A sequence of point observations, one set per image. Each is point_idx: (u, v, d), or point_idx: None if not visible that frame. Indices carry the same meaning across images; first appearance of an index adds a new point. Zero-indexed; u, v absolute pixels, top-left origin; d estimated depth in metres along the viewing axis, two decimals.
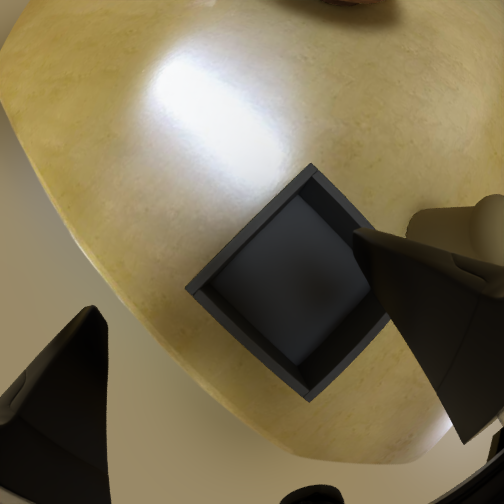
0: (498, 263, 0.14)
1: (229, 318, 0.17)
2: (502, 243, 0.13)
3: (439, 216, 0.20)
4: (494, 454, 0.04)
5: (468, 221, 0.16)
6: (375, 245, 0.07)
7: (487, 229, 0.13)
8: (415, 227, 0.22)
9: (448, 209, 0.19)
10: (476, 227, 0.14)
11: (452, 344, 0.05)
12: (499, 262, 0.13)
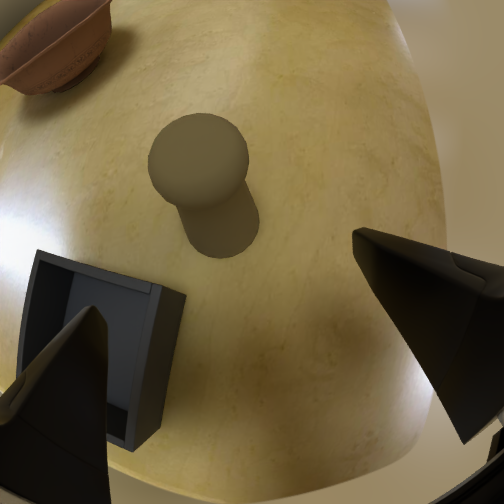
0: (200, 197, 0.13)
1: None
2: (173, 174, 0.12)
3: None
4: (494, 454, 0.04)
5: None
6: (375, 245, 0.07)
7: (152, 178, 0.13)
8: None
9: None
10: (154, 186, 0.14)
11: (452, 344, 0.05)
12: (198, 195, 0.13)
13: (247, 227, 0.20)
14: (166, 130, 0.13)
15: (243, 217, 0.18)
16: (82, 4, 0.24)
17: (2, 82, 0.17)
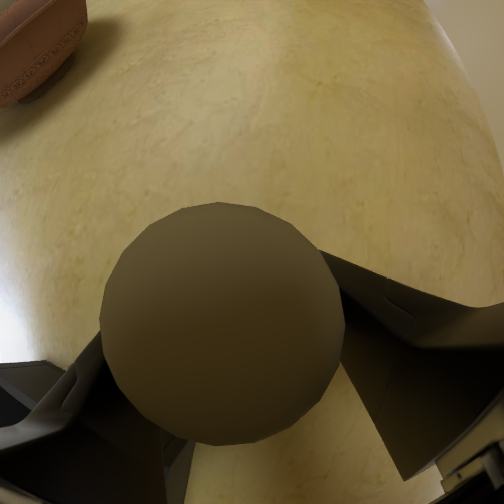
0: (237, 443, 0.05)
1: None
2: (168, 415, 0.04)
3: None
4: None
5: None
6: None
7: None
8: None
9: None
10: None
11: (380, 382, 0.05)
12: (233, 444, 0.05)
13: None
14: (130, 265, 0.05)
15: None
16: None
17: None
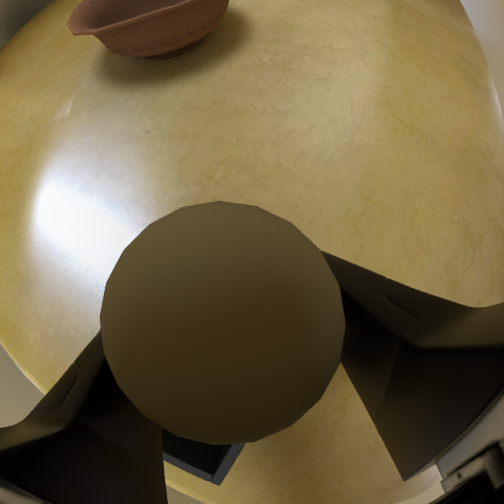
0: None
1: None
2: (167, 414, 0.04)
3: None
4: None
5: None
6: None
7: None
8: None
9: None
10: None
11: (380, 382, 0.05)
12: (234, 443, 0.05)
13: None
14: (131, 263, 0.05)
15: None
16: None
17: (95, 32, 0.17)
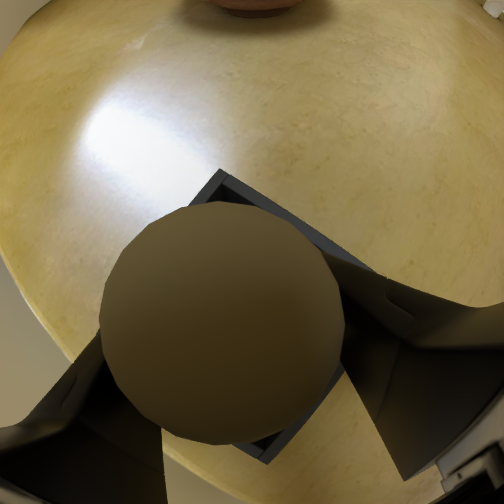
0: (237, 442, 0.05)
1: None
2: (167, 414, 0.04)
3: None
4: None
5: None
6: None
7: None
8: None
9: None
10: None
11: (380, 382, 0.05)
12: (233, 443, 0.05)
13: None
14: (130, 264, 0.05)
15: None
16: None
17: None
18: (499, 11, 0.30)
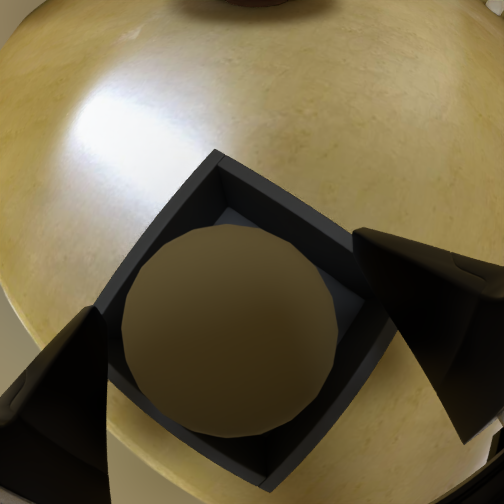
0: None
1: (126, 379, 0.11)
2: (186, 412, 0.05)
3: None
4: (494, 454, 0.04)
5: None
6: (375, 245, 0.07)
7: None
8: None
9: None
10: None
11: (452, 344, 0.05)
12: (242, 436, 0.05)
13: None
14: (151, 282, 0.06)
15: None
16: None
17: None
18: (502, 8, 0.28)
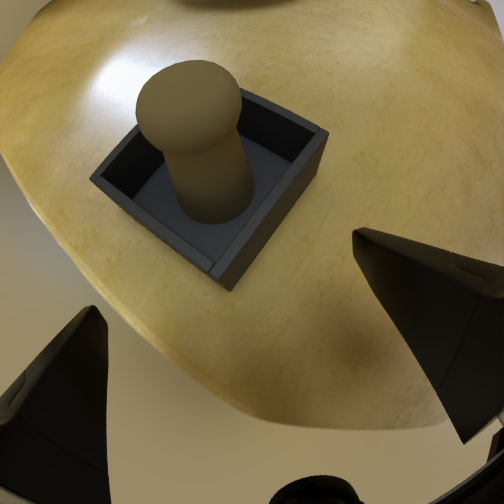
0: (188, 134, 0.11)
1: (123, 193, 0.16)
2: (160, 111, 0.11)
3: None
4: (494, 454, 0.04)
5: None
6: (375, 245, 0.07)
7: (139, 120, 0.11)
8: None
9: None
10: None
11: (452, 344, 0.05)
12: (186, 132, 0.11)
13: (241, 186, 0.18)
14: (156, 75, 0.11)
15: (237, 173, 0.17)
16: None
17: None
18: None
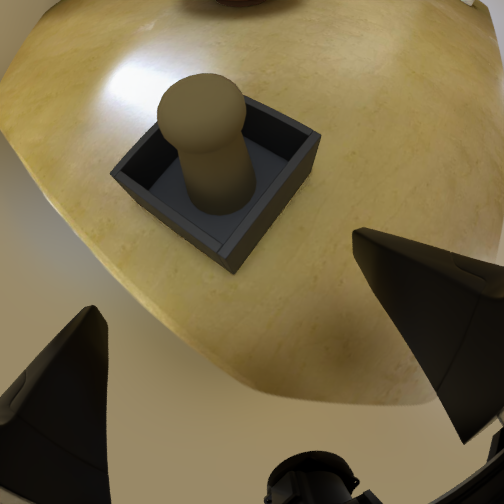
0: (203, 136, 0.14)
1: (141, 186, 0.19)
2: (180, 117, 0.13)
3: None
4: (494, 454, 0.04)
5: None
6: (375, 245, 0.07)
7: (161, 124, 0.14)
8: None
9: None
10: None
11: (452, 344, 0.05)
12: (201, 134, 0.14)
13: (245, 181, 0.21)
14: (174, 86, 0.14)
15: (241, 170, 0.19)
16: None
17: None
18: None
